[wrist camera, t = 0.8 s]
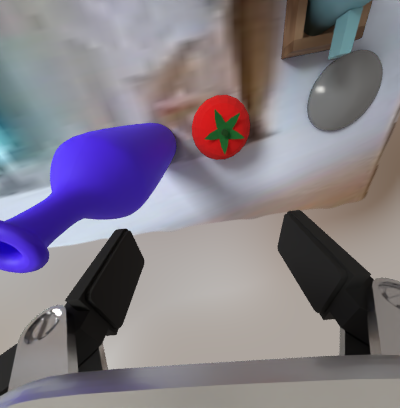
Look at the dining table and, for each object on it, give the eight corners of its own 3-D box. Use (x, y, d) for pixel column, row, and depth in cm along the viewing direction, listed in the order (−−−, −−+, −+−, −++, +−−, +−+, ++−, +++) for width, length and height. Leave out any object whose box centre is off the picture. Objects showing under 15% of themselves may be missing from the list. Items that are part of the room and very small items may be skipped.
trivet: (315, 59, 25) (319, 57, 25) (389, 45, 25) (396, 42, 24) (301, 134, 32) (304, 135, 31) (360, 125, 31) (365, 125, 30)
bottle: (177, 123, 30) (61, 162, 4) (177, 163, 34) (119, 304, 9) (136, 120, 30) (-264, 142, 4) (142, 161, 34) (-34, 302, 8)
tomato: (207, 162, 34) (210, 177, 26) (182, 117, 30) (177, 117, 21) (249, 138, 32) (268, 146, 23) (230, 85, 27) (245, 70, 18)
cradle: (290, -39, 20) (307, -66, 17) (367, -57, 20) (397, -88, 17) (281, 59, 25) (292, 51, 22) (341, 47, 25) (361, 37, 22)
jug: (304, -23, 21) (394, -140, 11) (350, -33, 20) (484, -164, 11) (292, 71, 26) (347, 45, 16) (328, 65, 25) (406, 34, 16)
